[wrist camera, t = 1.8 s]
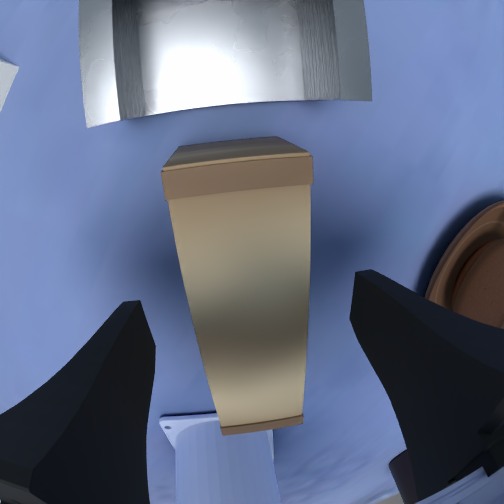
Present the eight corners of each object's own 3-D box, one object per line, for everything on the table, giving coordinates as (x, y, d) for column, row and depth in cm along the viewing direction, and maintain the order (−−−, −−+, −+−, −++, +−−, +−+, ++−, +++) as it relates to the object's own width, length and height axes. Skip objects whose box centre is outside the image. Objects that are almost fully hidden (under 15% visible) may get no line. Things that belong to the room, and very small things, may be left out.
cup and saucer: (403, 224, 15) (479, 285, 10) (525, 173, 15) (589, 204, 9) (406, 363, 21) (443, 422, 15) (509, 301, 20) (550, 341, 15)
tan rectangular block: (284, 363, 18) (302, 424, 14) (217, 373, 18) (222, 436, 14) (277, 136, 12) (312, 153, 8) (177, 146, 12) (160, 168, 8)
